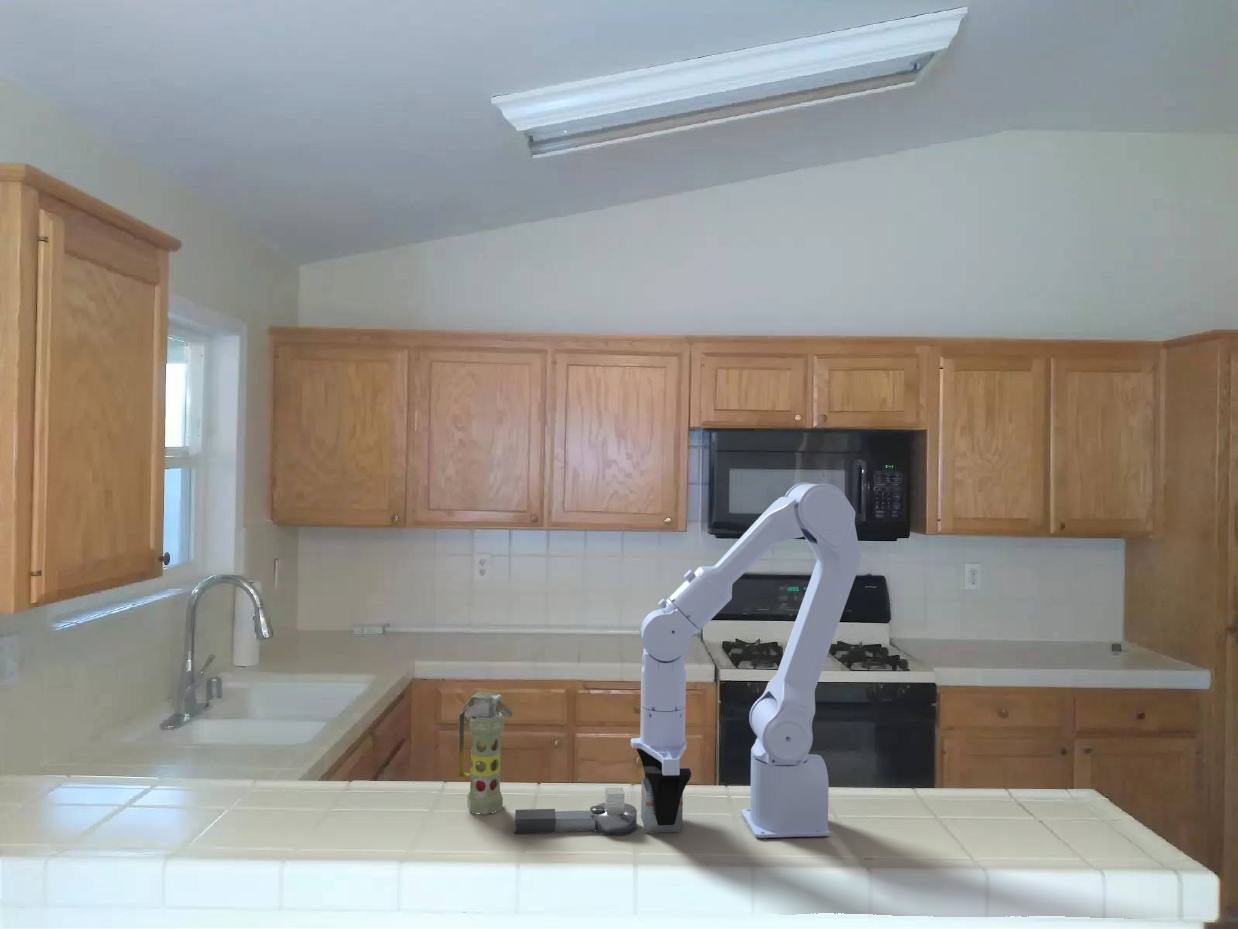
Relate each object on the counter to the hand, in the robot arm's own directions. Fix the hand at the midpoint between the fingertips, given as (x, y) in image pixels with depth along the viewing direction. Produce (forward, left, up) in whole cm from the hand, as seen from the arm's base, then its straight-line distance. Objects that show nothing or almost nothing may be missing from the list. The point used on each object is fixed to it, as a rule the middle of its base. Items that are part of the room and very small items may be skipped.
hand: (661, 812), depth 110 cm
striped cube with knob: (0, 0, -2) cm, 2 cm away
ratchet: (+11, 0, -2) cm, 11 cm away
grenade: (+23, -8, -2) cm, 24 cm away
